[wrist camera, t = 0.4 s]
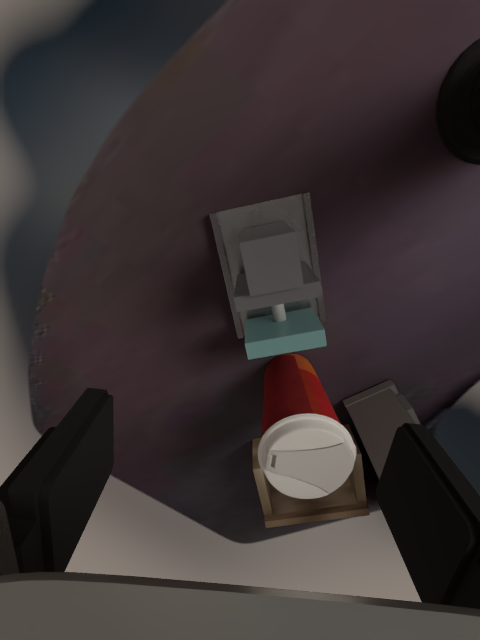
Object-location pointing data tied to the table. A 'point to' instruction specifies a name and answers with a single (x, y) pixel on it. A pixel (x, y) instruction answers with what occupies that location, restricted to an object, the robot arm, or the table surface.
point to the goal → (297, 511)
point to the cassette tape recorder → (379, 419)
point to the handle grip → (462, 106)
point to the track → (282, 209)
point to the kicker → (276, 292)
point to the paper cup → (301, 432)
